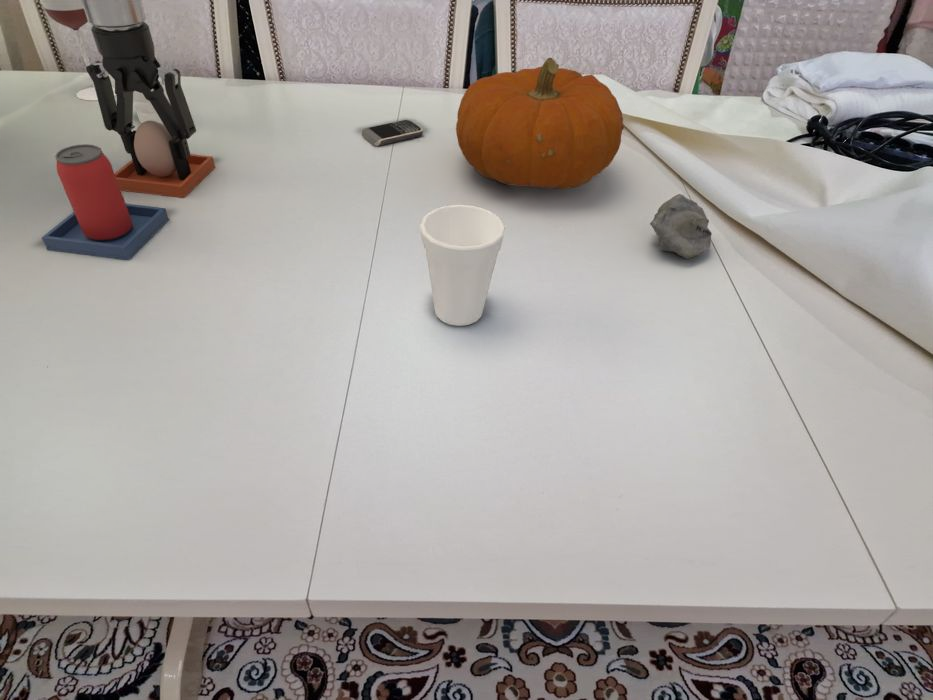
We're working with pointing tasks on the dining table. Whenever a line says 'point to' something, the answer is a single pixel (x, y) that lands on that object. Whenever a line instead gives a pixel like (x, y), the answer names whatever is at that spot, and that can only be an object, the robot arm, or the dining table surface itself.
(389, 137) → the cell phone
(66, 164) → the beer can
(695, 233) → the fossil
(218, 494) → the dining table surface
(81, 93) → the wineglass
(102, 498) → the dining table surface
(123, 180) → the terracotta tray
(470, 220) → the cup
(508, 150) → the pumpkin
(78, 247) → the blue tray
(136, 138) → the egg
